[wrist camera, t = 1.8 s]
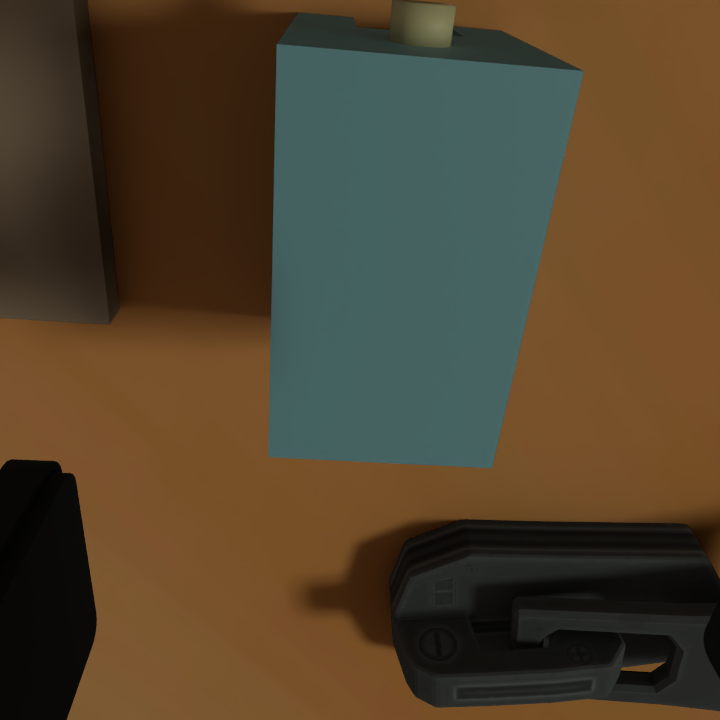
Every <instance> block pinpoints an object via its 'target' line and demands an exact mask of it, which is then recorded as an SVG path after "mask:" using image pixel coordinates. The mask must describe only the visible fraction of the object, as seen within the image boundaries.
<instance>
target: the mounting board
mask: <svg viewBox="0 0 720 720" xmlns="http://www.w3.org/2000/svg"><path fill="white" fill-rule="evenodd" d="M118 311H119V299H118V290H117V280H116V271H115V261H114V252H113V242H112V233H111V223H110V214H109V204H108V194H107V185H106V175H105V166H104V156H103V147H102V137H101V128H100V118H99V108H98V99H97V89H96V80H95V70H94V61H93V51H92V42H91V32H90V22H89V13H88V3H87V0H0V318H10V319H27V320H43V321H60V322H76V323H93V324H109V325H110V323H111V322H112V320H113V319H114V317H115V315H116V314H117V312H118Z"/></svg>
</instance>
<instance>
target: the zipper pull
mask: <svg viewBox="0 0 720 720" xmlns="http://www.w3.org/2000/svg"><path fill="white" fill-rule="evenodd" d="M389 585H390V601H391V619H392V636H393V644H394V647H395V650H396V653H397V656H398V659H399V662H400V665H401V668H402V671H403V674H404V677H405V680H406V682H407V684H408V686H409V687H410V689H411V691H412V692H413V694H414V695H415V696H416V697H417V698H419V699H421V700H423V701H425V702H427V703H428V704H430V705H432V706H434V707H469V706H495V705H515V704H535V703H553V702H562V701H572V700H582V699H596V700H609V701H622V702H636V703H649V704H662V705H671V706H680V707H689V708H697V709H706V710H715V711H720V679H719V677H718V675H717V673H716V672H715V670H714V668H713V666H712V664H711V662H710V661H709V659H708V657H707V654H706V652H705V648H704V640H703V638H704V631H705V628H706V626H707V624H708V622H709V620H710V618H711V616H712V613H713V611H714V609H715V607H716V605H717V603H718V601H719V599H720V578H719V577H718V575H717V573H716V571H715V569H714V568H713V566H712V564H711V562H710V560H709V559H708V557H707V555H706V554H705V552H704V550H703V549H702V547H701V545H700V544H699V542H698V541H697V539H696V537H695V536H694V534H693V532H692V531H691V529H690V527H689V526H687V525H686V524H676V523H611V522H541V521H501V520H468V519H464V520H459V521H456V522H454V523H451V524H448V525H446V526H443V527H441V528H438V529H435V530H433V531H430V532H427V533H425V534H422V535H419V536H416V537H414V538H411V539H409V540H407V541H406V542H405V544H404V546H403V548H402V551H401V553H400V555H399V558H398V560H397V563H396V565H395V567H394V570H393V572H392V575H391V577H390V579H389ZM660 662H665V663H664V664H662V665H661V666H659V667H658V668H656V669H655V670H653V671H652V672H637V671H621V668H622V667H630V666H637V665H645V664H653V663H660Z"/></svg>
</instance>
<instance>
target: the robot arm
mask: <svg viewBox="0 0 720 720" xmlns="http://www.w3.org/2000/svg"><path fill="white" fill-rule="evenodd" d="M96 622H97V617H96V609H95V602H94V596H93V589H92V582H91V576H90V569H89V563H88V556H87V550H86V543H85V537H84V530H83V524H82V517H81V511H80V504H79V498H78V491H77V485H76V480H75V477H74V475H73V474H71V473H62V470H61V466H60V465H59V463H58V462H55V461H38V460H13V459H11V460H9V461H7V462H6V463H5V464H4V465H3V466H2V468H1V469H0V720H67V717H68V714H69V711H70V708H71V705H72V703H73V700H74V697H75V694H76V691H77V688H78V685H79V682H80V680H81V677H82V674H83V671H84V668H85V665H86V662H87V659H88V657H89V654H90V651H91V648H92V645H93V642H94V637H95V633H96ZM703 640H704V648H705V652H706V654H707V657H708V659H709V661H710V662H711V664H712V666H713V668H714V670H715V672H716V673H717V675H718V677H719V679H720V599H719V601H718V603H717V605H716V607H715V609H714V611H713V613H712V616H711V618H710V620H709V622H708V624H707V626H706V628H705V631H704V638H703Z"/></svg>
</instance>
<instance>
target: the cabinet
mask: <svg viewBox="0 0 720 720" xmlns="http://www.w3.org/2000/svg"><path fill="white" fill-rule="evenodd" d="M455 11H456V6H454V5H449V4H442V3H434V2H425V1H414V0H392V9H391V20H390V30H384V29H372V28H361V27H355V23H354V18H353V17H344V16H333V15H322V14H310V13H299V12H298V14H297V15H296V16H295V18H294V19H293V21H292V22H291V24H290V25H289V27H288V28H287V30H286V31H285V33H284V34H283V36H282V37H281V38H280V40H279V41H278V43H277V52H276V102H275V152H274V203H273V253H272V303H271V354H270V404H269V454H268V457H278V458H298V459H319V460H339V461H359V462H380V463H400V464H420V465H440V466H461V467H481V468H492V466H493V461H494V457H495V453H496V448H497V444H498V440H499V436H500V431H501V427H502V423H503V418H504V414H505V410H506V405H507V401H508V397H509V392H510V388H511V384H512V379H513V375H514V371H515V366H516V362H517V358H518V353H519V349H520V345H521V340H522V336H523V332H524V327H525V323H526V319H527V314H528V310H529V306H530V301H531V297H532V293H533V288H534V284H535V280H536V275H537V271H538V267H539V262H540V258H541V254H542V249H543V245H544V241H545V236H546V232H547V228H548V223H549V219H550V215H551V210H552V206H553V202H554V197H555V193H556V189H557V184H558V180H559V176H560V171H561V167H562V163H563V159H564V154H565V150H566V146H567V141H568V137H569V133H570V128H571V124H572V120H573V115H574V111H575V107H576V102H577V98H578V94H579V89H580V85H581V81H582V76H583V72H584V71H583V70H581V69H579V68H577V67H575V66H572V65H570V64H568V63H566V62H564V61H562V60H560V59H558V58H556V57H554V56H552V55H550V54H548V53H546V52H544V51H542V50H540V49H538V48H536V47H534V46H532V45H530V44H528V43H525V42H523V41H521V40H519V39H517V38H515V37H513V36H511V35H509V34H507V33H505V32H503V31H498V30H487V29H476V28H465V27H454V26H453V25H454V18H455Z"/></svg>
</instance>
